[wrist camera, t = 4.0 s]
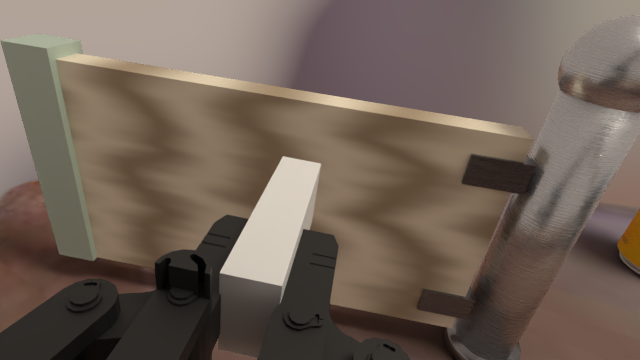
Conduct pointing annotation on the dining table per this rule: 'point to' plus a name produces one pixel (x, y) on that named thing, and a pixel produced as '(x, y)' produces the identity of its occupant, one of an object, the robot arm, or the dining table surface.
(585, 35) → the gate post
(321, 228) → the gate panel
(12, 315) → the dining table surface
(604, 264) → the dining table surface
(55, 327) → the robot arm
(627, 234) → the orange and white cylinder
